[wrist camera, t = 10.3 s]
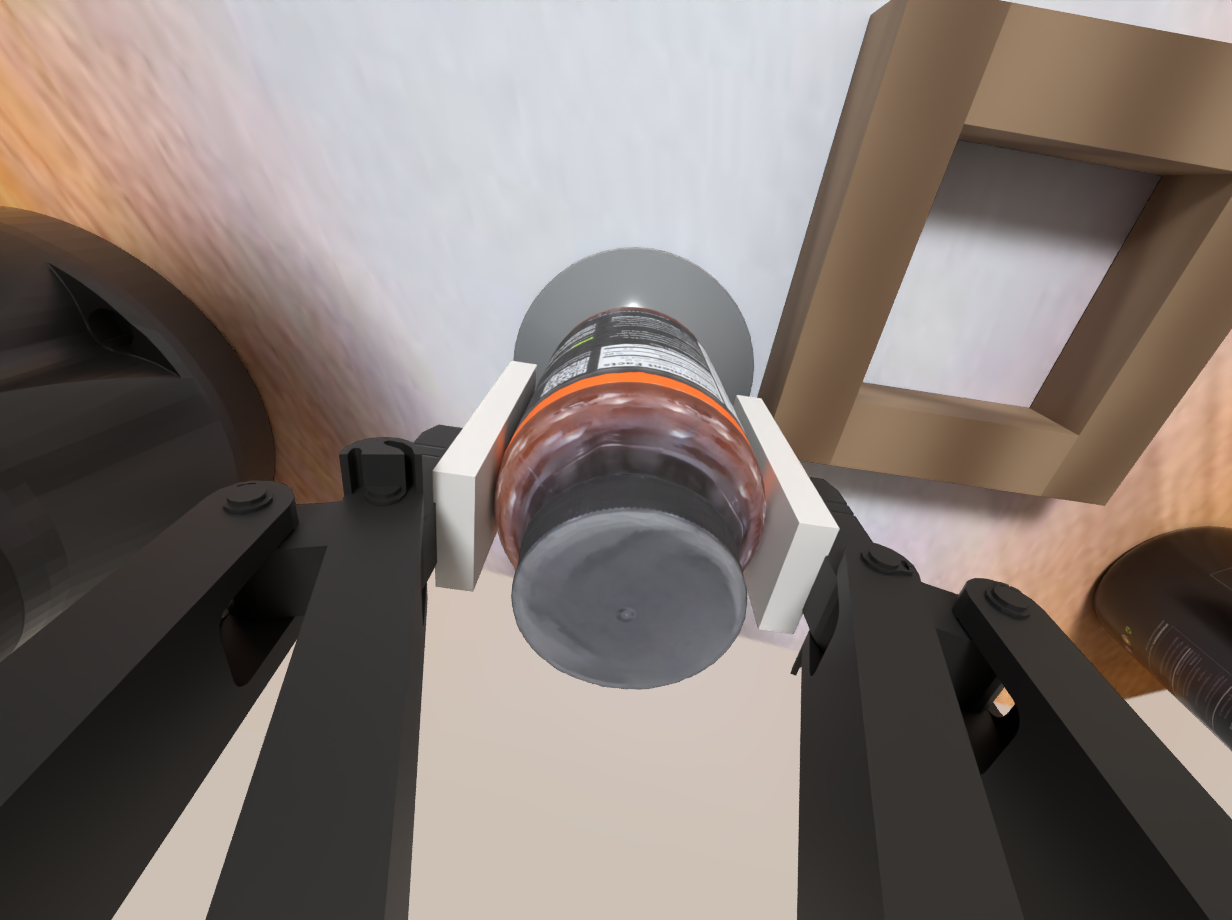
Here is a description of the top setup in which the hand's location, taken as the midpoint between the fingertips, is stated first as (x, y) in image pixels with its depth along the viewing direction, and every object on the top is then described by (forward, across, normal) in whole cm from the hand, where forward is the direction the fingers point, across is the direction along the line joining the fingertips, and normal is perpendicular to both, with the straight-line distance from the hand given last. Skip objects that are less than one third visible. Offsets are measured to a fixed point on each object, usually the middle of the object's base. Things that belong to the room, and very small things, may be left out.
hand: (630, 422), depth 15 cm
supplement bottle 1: (+4, 0, 0) cm, 4 cm away
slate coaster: (+5, 0, 0) cm, 5 cm away
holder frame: (+5, +12, +5) cm, 14 cm away
